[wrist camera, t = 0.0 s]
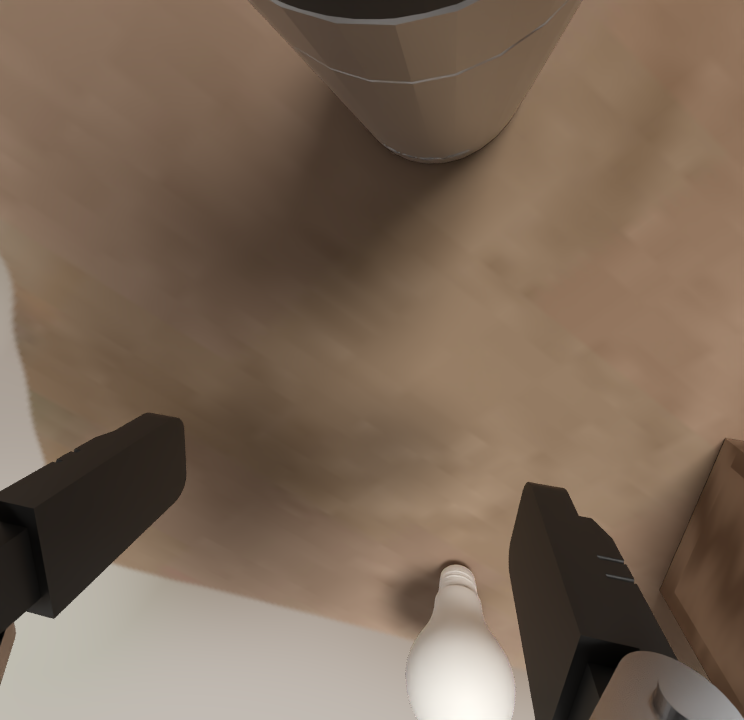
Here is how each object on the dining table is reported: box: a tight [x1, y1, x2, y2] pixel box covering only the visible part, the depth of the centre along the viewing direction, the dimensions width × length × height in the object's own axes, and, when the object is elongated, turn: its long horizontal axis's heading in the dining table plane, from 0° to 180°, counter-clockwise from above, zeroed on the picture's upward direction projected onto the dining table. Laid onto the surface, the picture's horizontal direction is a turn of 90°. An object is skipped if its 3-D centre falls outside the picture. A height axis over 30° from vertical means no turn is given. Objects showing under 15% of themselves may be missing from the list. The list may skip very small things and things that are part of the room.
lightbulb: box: [405, 565, 516, 720], centre depth 26 cm, size 6×6×11 cm
